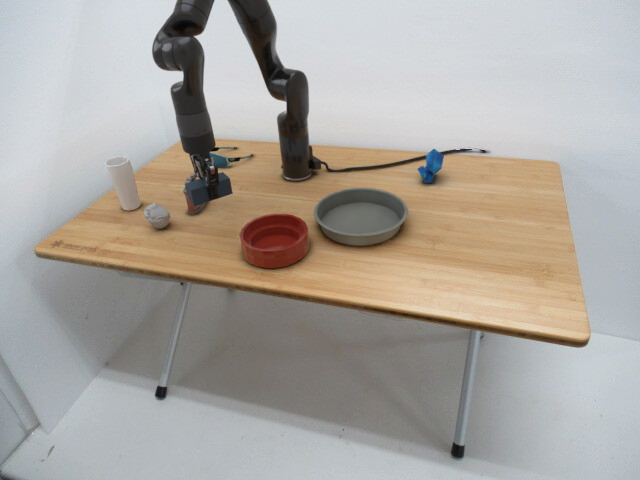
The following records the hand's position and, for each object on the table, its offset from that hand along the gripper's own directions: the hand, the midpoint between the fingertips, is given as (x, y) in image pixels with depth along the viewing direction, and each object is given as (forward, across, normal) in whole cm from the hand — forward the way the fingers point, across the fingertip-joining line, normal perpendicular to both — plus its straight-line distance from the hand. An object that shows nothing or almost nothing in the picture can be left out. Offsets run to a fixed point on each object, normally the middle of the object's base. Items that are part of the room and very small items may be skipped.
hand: (210, 194), depth 115 cm
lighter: (+13, +19, 0) cm, 23 cm away
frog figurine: (+13, +15, +12) cm, 23 cm away
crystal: (+14, -9, -66) cm, 68 cm away
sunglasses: (+13, +46, -22) cm, 53 cm away
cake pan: (+13, -17, -34) cm, 40 cm away
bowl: (+13, -14, -10) cm, 21 cm away
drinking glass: (+13, +32, +16) cm, 38 cm away
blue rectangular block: (0, 0, 0) cm, 0 cm away
